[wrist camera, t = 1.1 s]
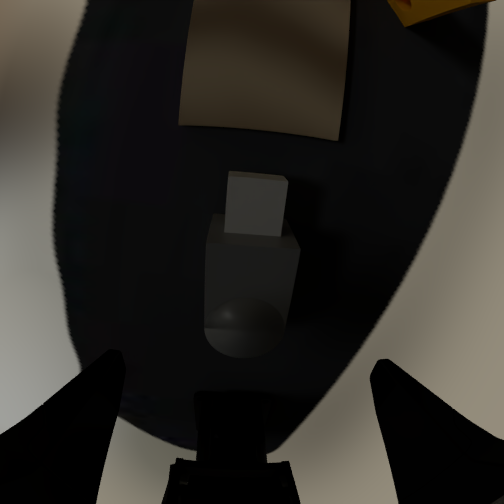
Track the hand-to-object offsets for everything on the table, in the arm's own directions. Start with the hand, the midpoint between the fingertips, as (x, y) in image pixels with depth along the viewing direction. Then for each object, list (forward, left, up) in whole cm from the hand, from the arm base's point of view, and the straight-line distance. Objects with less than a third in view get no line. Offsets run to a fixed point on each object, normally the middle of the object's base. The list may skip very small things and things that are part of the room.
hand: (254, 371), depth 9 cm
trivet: (+12, 0, -9) cm, 15 cm away
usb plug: (+1, 0, -9) cm, 9 cm away
